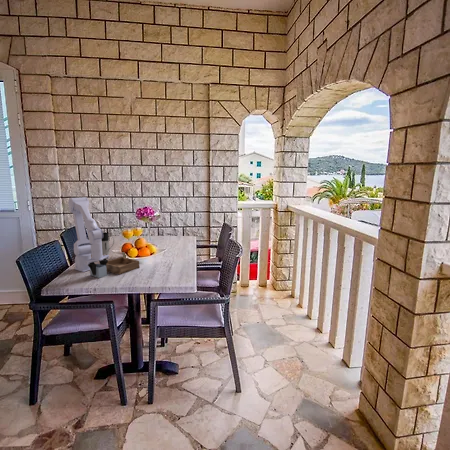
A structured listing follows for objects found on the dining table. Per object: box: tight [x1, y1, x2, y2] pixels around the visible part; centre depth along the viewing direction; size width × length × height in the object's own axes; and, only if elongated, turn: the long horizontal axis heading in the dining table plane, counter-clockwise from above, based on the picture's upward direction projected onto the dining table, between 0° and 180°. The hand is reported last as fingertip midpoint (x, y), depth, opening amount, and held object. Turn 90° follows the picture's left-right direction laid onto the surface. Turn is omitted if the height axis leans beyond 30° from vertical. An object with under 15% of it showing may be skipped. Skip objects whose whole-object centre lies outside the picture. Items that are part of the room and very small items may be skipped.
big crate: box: [106, 256, 140, 275], centre depth 180 cm, size 16×15×4 cm
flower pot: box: [120, 245, 136, 258], centre depth 200 cm, size 9×9×9 cm
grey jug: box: [102, 231, 115, 256], centre depth 213 cm, size 9×14×15 cm, turn 71°
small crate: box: [89, 263, 108, 279], centre depth 168 cm, size 8×5×6 cm, turn 59°
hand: (98, 273), depth 168 cm, fingers closed on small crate, 5 cm apart
